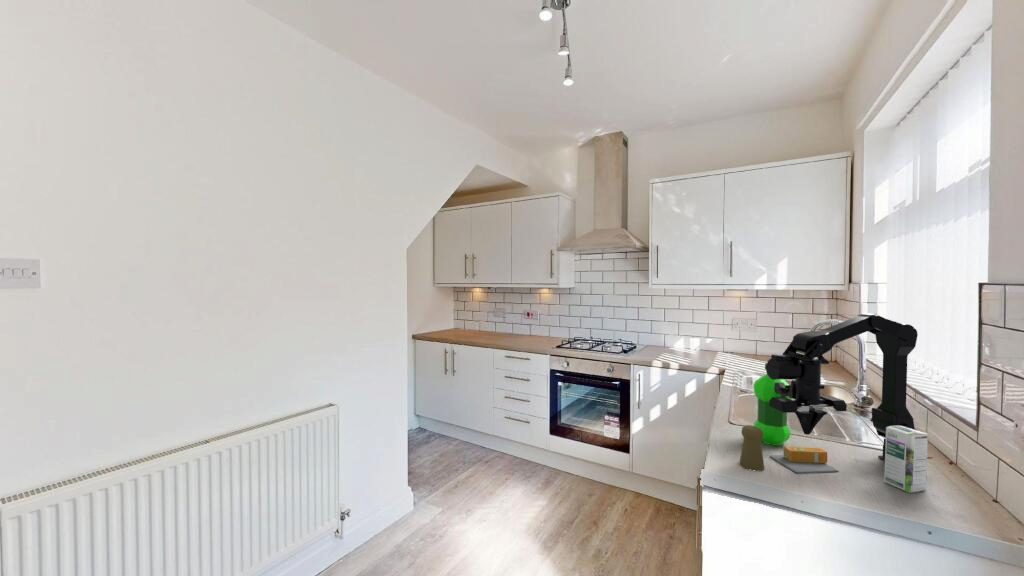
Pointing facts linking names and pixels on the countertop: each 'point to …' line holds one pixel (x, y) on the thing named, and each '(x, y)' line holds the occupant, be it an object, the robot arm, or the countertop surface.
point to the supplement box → (805, 454)
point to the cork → (752, 448)
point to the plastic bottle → (770, 412)
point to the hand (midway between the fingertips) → (806, 434)
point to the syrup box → (906, 458)
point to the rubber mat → (803, 465)
